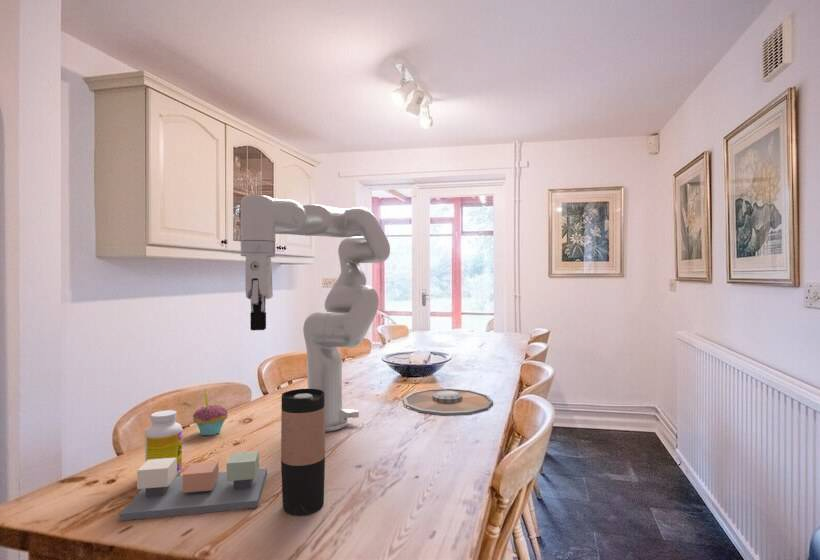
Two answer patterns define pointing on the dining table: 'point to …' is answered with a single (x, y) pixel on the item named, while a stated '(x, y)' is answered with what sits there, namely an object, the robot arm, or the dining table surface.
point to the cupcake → (210, 418)
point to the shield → (447, 401)
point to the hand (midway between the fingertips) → (258, 329)
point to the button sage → (242, 466)
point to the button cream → (156, 473)
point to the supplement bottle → (164, 438)
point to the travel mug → (303, 451)
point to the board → (195, 498)
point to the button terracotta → (200, 477)
